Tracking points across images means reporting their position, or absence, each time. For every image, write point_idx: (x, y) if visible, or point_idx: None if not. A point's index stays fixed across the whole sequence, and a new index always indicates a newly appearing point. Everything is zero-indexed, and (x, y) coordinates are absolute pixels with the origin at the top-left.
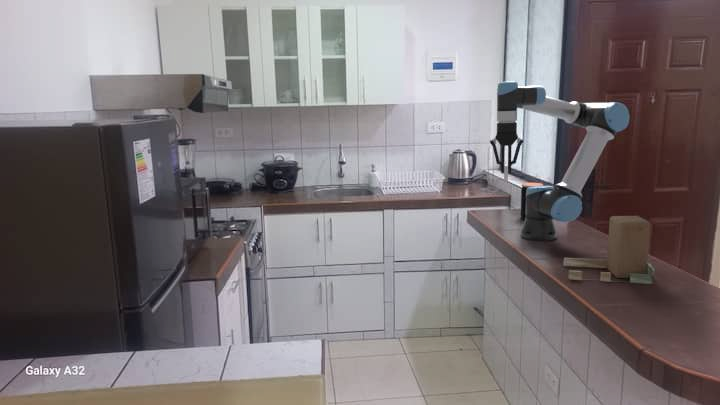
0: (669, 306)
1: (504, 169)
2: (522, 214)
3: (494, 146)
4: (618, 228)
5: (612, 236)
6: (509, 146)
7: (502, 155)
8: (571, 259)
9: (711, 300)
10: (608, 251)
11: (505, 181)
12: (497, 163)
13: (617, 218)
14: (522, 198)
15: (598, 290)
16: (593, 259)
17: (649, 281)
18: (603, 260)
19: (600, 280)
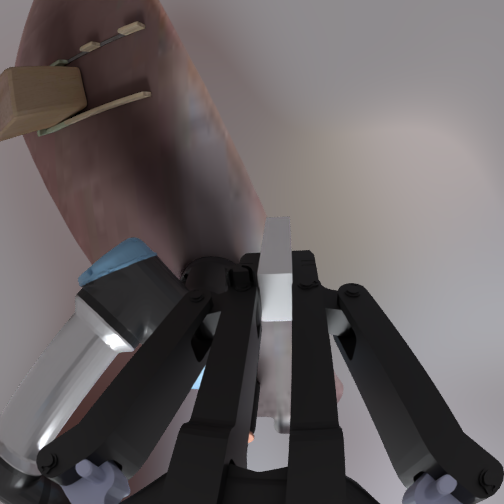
0: (51, 9)
1: (288, 255)
2: (256, 386)
3: (440, 436)
4: (17, 69)
5: (37, 90)
6: (207, 446)
7: (316, 349)
8: (131, 95)
9: (17, 55)
10: (64, 101)
11: (280, 218)
12: (356, 284)
13: (5, 97)
14: (253, 411)
15: (109, 5)
16: (96, 107)
17: None
18: (84, 112)
19: (100, 43)
